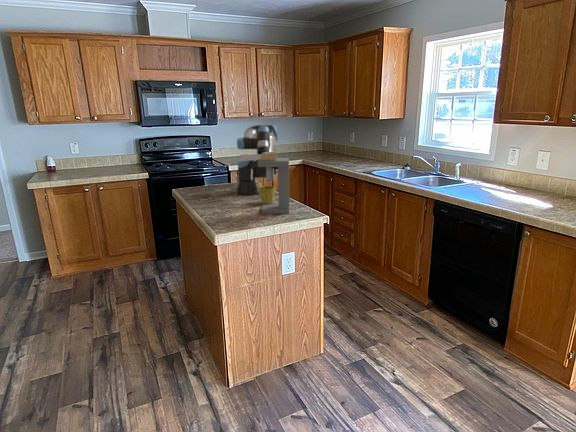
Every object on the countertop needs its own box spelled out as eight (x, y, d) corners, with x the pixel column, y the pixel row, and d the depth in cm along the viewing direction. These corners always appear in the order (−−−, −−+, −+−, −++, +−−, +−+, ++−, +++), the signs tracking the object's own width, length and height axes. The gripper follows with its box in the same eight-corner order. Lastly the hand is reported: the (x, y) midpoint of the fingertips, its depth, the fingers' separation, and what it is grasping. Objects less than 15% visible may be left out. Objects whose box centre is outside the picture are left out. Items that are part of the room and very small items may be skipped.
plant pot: (256, 203, 236) (256, 188, 233) (263, 199, 245) (263, 185, 242) (271, 205, 232) (271, 189, 229) (278, 201, 241) (277, 186, 238)
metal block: (241, 159, 215) (241, 152, 213) (276, 158, 214) (276, 151, 213) (240, 160, 209) (239, 153, 208) (276, 160, 209) (276, 153, 207)
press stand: (261, 208, 226) (259, 158, 217) (289, 207, 226) (288, 158, 217) (259, 213, 215) (257, 161, 206) (289, 213, 214) (288, 161, 206)
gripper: (242, 146, 237) (241, 176, 230) (282, 145, 236) (282, 176, 229) (244, 151, 244) (243, 181, 237) (282, 151, 243) (282, 181, 237)
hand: (262, 179), depth 233 cm, fingers open, 13 cm apart
